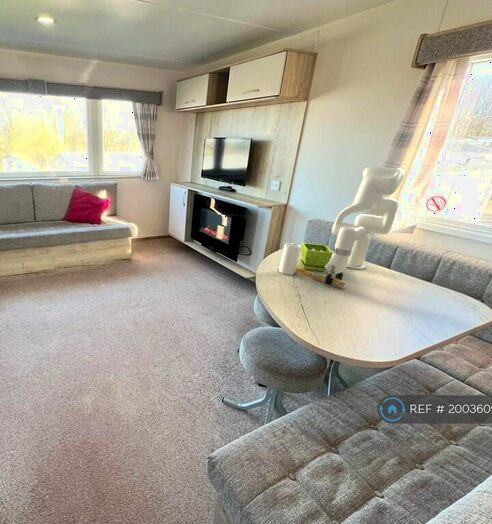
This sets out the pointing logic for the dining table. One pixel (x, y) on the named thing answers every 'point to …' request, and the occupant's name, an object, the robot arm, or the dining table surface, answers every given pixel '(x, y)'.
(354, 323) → the dining table surface
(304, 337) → the dining table surface
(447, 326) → the dining table surface
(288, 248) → the cup
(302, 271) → the breadstick
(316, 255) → the flower pot
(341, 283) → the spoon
